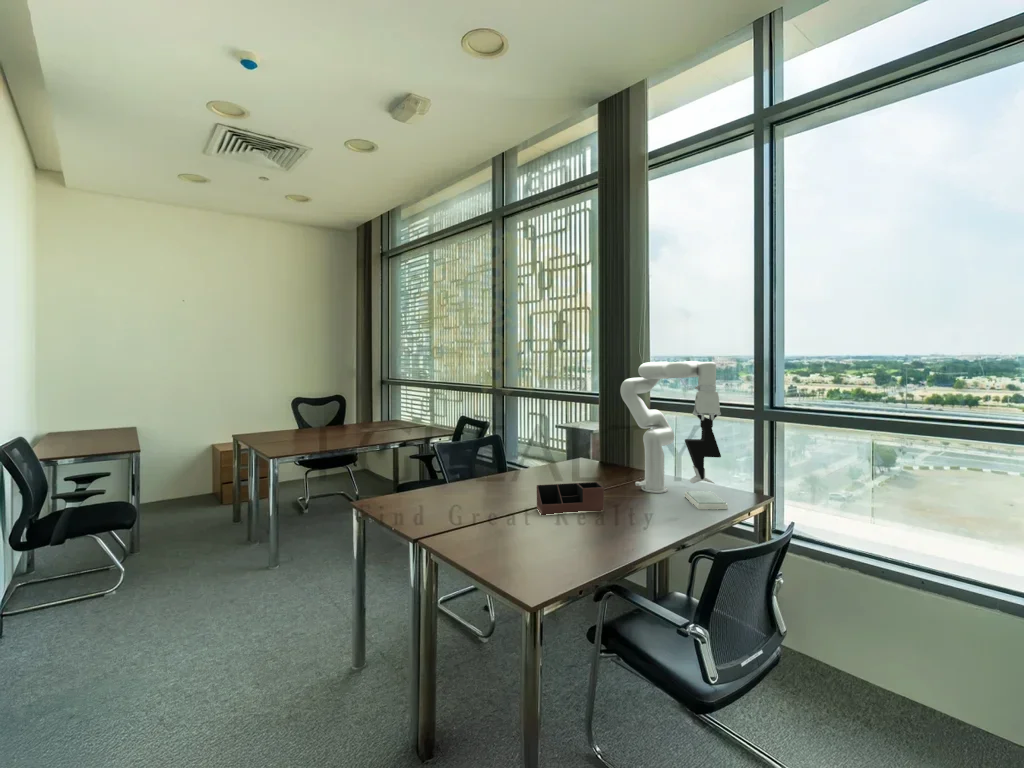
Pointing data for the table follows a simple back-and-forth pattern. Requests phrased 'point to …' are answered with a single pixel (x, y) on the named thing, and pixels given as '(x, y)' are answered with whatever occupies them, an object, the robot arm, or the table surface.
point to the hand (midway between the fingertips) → (706, 428)
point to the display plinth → (705, 500)
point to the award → (702, 451)
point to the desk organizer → (570, 497)
